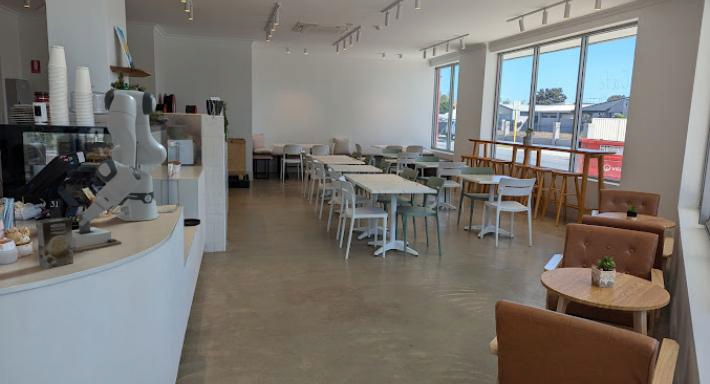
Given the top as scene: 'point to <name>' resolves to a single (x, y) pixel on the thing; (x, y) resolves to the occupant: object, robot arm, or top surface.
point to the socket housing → (90, 237)
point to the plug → (85, 227)
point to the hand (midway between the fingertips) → (82, 223)
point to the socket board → (97, 246)
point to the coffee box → (55, 242)
